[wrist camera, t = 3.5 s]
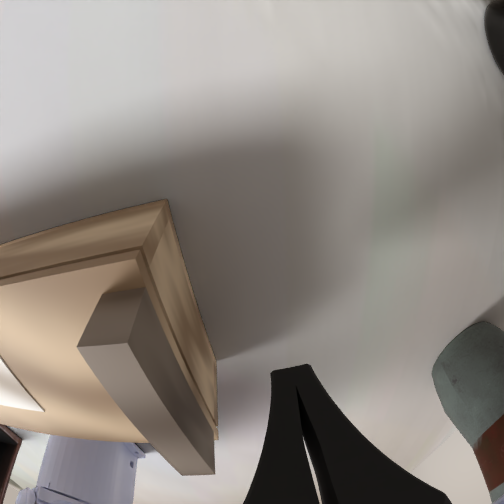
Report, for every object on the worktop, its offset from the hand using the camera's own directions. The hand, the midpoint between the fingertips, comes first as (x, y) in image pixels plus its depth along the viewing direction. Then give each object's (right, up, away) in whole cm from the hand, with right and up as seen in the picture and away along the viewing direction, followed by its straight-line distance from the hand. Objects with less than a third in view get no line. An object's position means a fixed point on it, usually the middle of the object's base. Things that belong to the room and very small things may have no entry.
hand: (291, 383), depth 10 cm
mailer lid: (-13, -2, +1) cm, 13 cm away
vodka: (+19, -5, +13) cm, 23 cm away
